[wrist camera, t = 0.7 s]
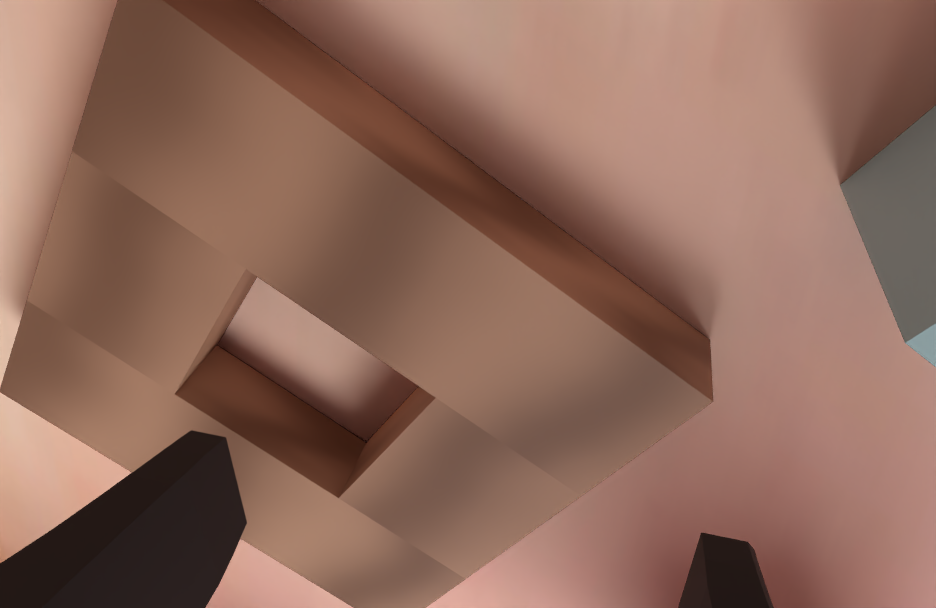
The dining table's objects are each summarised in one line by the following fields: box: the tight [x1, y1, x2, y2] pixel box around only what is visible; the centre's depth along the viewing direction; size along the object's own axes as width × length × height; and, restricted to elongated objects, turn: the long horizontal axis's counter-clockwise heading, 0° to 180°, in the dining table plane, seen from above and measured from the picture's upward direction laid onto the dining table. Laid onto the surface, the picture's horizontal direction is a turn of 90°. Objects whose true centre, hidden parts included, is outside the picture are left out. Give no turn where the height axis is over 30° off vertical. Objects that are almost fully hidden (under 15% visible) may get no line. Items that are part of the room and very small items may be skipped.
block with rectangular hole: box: [0, 0, 713, 608], centre depth 22 cm, size 16×16×2 cm
